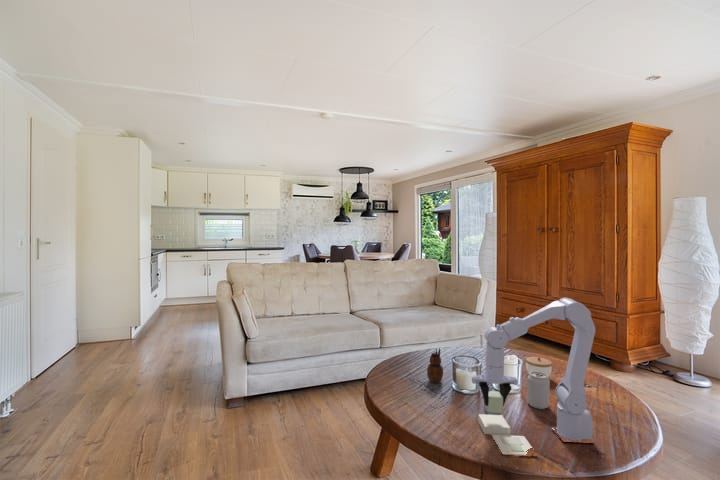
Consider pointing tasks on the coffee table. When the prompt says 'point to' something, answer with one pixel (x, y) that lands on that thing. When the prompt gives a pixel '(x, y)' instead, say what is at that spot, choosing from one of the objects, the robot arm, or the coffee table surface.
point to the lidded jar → (538, 365)
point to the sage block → (495, 402)
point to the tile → (512, 444)
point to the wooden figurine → (435, 368)
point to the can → (538, 390)
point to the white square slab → (493, 424)
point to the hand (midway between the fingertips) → (493, 404)
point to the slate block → (490, 412)
